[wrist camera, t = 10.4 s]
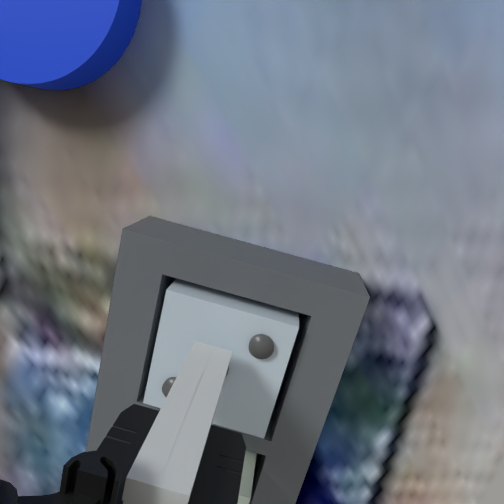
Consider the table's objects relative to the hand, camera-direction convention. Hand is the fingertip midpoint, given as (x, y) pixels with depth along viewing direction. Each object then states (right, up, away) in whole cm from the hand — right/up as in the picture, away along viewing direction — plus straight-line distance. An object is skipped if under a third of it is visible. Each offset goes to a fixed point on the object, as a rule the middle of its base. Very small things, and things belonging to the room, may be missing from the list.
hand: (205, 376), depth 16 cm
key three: (+1, +1, +4) cm, 4 cm away
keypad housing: (-1, -6, +6) cm, 8 cm away
